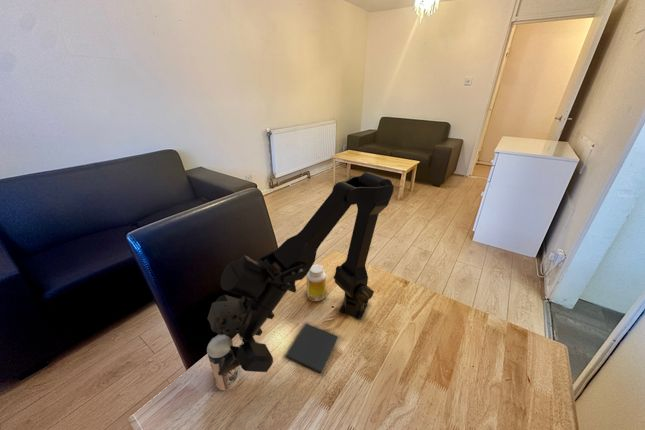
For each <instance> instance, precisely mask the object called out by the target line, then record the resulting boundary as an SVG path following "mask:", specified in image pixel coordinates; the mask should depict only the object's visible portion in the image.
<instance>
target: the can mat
mask: <svg viewBox="0 0 645 430" xmlns="http://www.w3.org/2000/svg"><path fill="white" fill-rule="evenodd" d="M338 338H339V337H338V335H336V334H333V333H330V332H328V331H325V330H323V329H320V328H318V327H316V326H314V325H310V324H308V323H306V324H305V325H304V326H303V328H302V330H301V331H300V333H299V335H298V336H297V338H296V339H295V340H294V343H293V344H292V346H291V347H290V349H289V350H288V352H287V354H286V355H285V357H286V358H288V359H290V360H292V361H294V362H296V363H299V364H301V365H303V366H305V367H307V368H309V369H311V370H313V371H315V372H317V373H320V374H322V372H323V370H324V367H325V365H326V364H327V361H328V360H329V357H330V355H331V353H332V351H333V349H334V347H335V344H336V342H337V341H338Z"/></svg>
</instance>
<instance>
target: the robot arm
mask: <svg viewBox="0 0 645 430" xmlns="http://www.w3.org/2000/svg"><path fill="white" fill-rule="evenodd" d="M394 187H395V186H394V184H393V182H392V181H391V179H389V178H386V177H384V176H381V175H378V174H375V173H373V172H369V171H366V172H363V173H362V174H360V175H356V176H351V177H349V178H347V179H346V180H343V181H338V182H336V183H335V184H334V186H333V187H332V191H331V193H329V195H328V196H327V197H326V199H325V200H324V201H323V202H322V204H321V205H320V206H319V208H318V209H317V210H316V211H315V213H314V214H313V215H312V217H311V218H310V219H309V220H308V221H307V223H306V224H305V225H304V226H303V228H302V229H301V230H300V231H299V232H298V233H297V234H295V235H293V236H291V237H289V238H287V239H286V240H284V242H282V243H281V244H280V245H279V246H278V247H277V248H276V249H275V250H273V251H271V252H269V253H266V254H264V255H262V256H260V257H258V258H257V259H256V260H254V259H251V258H250V257H249V256H248V255H245V254H244V255H242V257H241V258H240V259H235V260H233V261H231V262H230V263H228V264H227V265H226V267H225V268H224V270H223V272H222V274H221V277H220V287H221V289H222V290H223V291H225V292H229V293H233V294H236V295H239V296H241V297H240V298H237V297H234V296H230V295H227V294H223V295H220V296H219V297H218V298H217V299H216V300H215V301H214V302H212V303H211V305H210V309H209V312H208V316H207V318H206V319H207V321H208V322H209V325H210V329H211V331H212V332H213V333H216V334H217V335H226V336H228V337H230V338H231V339H232V340H233V339H234V338H235V337H236V336H238V337H239V339H240V341H242V342H241V344H239V345H238V346H235V345H233V346H230V350H231V354H230V355H229V357H228V358H227V360H226V361H225V362H224V364H223V365H222V367H221V369H220V370H219V372H218V375H224V374H226V373H228V372H229V371H231V370H233V369H235V368H236V367H237V368H238V367H241V369H242V370H243V371H245V372H253V373H255V372H256V373H268V371H269V370H270V368H271V367H272V366H273V363H274V356H273V355H272V353H271V352H270V350H269V348H268V346H267V344H266V343H262V342H261V343H260V342H258V341H256V339H255V336H259V337H260V336H261V335H262V334H263V330H262V327H263V325H264V324H265V322H266V321H267V320H268V319H269V320H273V318H275V313H274V312H273V311H274V310H275V309H276V308H277V306H278V305H279V303H280V302H281V300H282V299H283V298H284V296H285V295H286V294H287V293H288V291H289V292H292V293H296V292H297V287H296V282H297V281H302V280H303V279H304V278H305V277H307V273H308V272H309V270H310V268H311V267H312V265H314V264H315V262H316V258H317V251H318V249H319V248H320V246H321V244H322V243H323V242H324V241H325V239H326V238H327V237H328V236H329V234H330V233H331V232H332V230H333V229H334V228H335V227H336V226H337V224H338V223H339V222H340V220H341V219H342V217H343V216H344V215H345V214H346V213H347V211H348V210H349V209H350V207H352V206H353V205H356V207H357V212H356V216H355V219H354V220H355V221H354V225H353V229H352V234H351V238H350V242H349V246H348V251H347V255H346V259H345V261H344V262H343V263H341V264H340V265H337V266H336V267H335V273H334V275H333V279H334V283H335V284H336V285H337V286H338V287H339V288H340V289H341V290H342V291H343V292H344V297H343V302H342V304H341V306H340V308H339V313H340V314H343V315H346V316H349V317H352V318H354V319H357V320H359V321H361V320H362V319H363V316H364V314H365V311H366V309H367V307H368V303H369V300H371V299H372V298H373V295H374V293H375V290H373V289H372V288H371V287H369V286H368V281H369V276H368V271H367V268H366V264H367V261H368V255H369V252H370V248H371V244H372V240H373V237H374V233H375V229H376V225H377V221H378V218H379V215H380V213H382V212H383V211H384V210H385V209H386V208H387V207H388V206H389V204H390V201H391V198H392V196H393V194H394Z"/></svg>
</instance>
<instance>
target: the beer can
mask: <svg viewBox="0 0 645 430" xmlns="http://www.w3.org/2000/svg"><path fill="white" fill-rule="evenodd" d="M233 343H234V342H233V339H231V338H230V337H228V336H226V335H218V334H217V335H216V336H214V337H212V338H211V339H210V341H209V343H208V344H207V347H206V353H207V357H208V360H209V363H210V368H211V370H212V374H213V375H212V376H213V378H214V381H215V385H216V386H215V387H217V389H219V390H220V391H229V390H231V389H233V388H234V387H235V386H236V385H237V383H238V382H239V380H240V372H239V368H238V367H236V368H235V369H233V370H231V371H229V372H228V373H226V374H224V375H218V372H219V370H220V369H221V367H222V365H223V364H224V362H225V361H226V360H227V358H228V357H229V355H230V354H231V350H230V346H234V345H233Z"/></svg>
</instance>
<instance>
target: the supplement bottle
mask: <svg viewBox="0 0 645 430" xmlns="http://www.w3.org/2000/svg"><path fill="white" fill-rule="evenodd" d="M326 278H327V277H326V272H325V271H324V267H323V265H321V264H318V263H314V264H313V265H312V267H311V268H310V270H309V272H308V273H307V275H306V296H307V298H308V299H309V300H310V301H312V302H313V301H314V302H319V301H321V300H323V299H324V298H325V296H326V282H327V281H326V280H327V279H326Z"/></svg>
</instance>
